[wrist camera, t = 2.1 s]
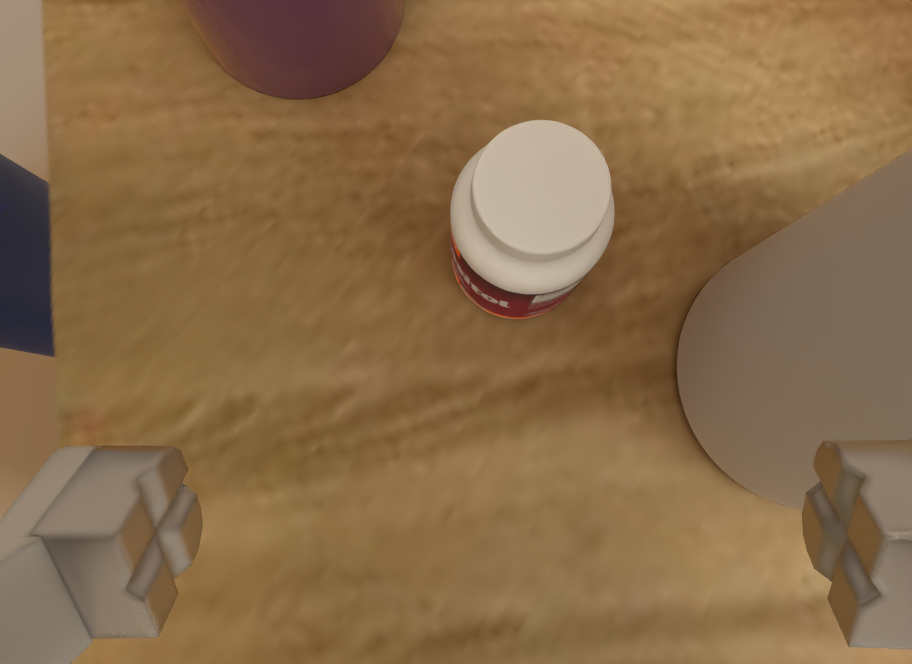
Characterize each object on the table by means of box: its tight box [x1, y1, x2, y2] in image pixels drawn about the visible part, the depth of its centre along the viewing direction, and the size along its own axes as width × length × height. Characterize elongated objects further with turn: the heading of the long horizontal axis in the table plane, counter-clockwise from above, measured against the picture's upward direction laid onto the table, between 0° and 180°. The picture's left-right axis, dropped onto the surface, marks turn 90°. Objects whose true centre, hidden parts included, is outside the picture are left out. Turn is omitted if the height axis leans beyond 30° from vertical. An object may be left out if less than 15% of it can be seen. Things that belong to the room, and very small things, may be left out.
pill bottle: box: [450, 120, 615, 319], centre depth 30 cm, size 6×6×11 cm
